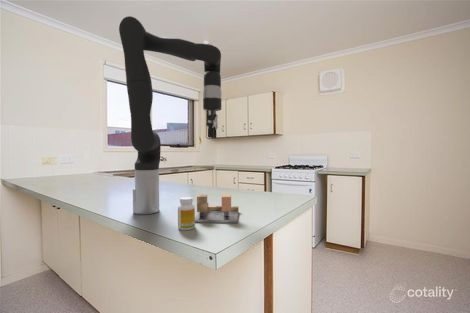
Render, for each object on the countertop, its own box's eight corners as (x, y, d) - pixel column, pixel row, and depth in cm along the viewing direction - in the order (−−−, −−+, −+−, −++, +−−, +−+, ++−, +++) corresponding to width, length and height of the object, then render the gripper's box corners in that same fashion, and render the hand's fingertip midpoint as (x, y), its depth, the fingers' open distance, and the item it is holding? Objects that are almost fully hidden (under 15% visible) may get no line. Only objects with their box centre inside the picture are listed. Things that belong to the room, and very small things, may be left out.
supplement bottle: (198, 227, 77) (198, 197, 76) (184, 231, 73) (184, 200, 72) (188, 223, 80) (188, 195, 80) (174, 227, 76) (174, 198, 76)
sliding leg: (221, 216, 84) (221, 196, 84) (222, 213, 87) (222, 194, 87) (230, 216, 84) (230, 197, 84) (231, 213, 87) (231, 195, 87)
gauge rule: (195, 219, 85) (195, 196, 84) (201, 211, 96) (201, 190, 95) (237, 220, 84) (237, 197, 83) (238, 212, 95) (238, 191, 94)
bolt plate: (194, 222, 82) (194, 219, 82) (200, 213, 93) (200, 210, 93) (237, 223, 81) (237, 220, 81) (238, 214, 92) (238, 211, 92)
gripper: (206, 101, 104) (206, 138, 104) (199, 94, 89) (199, 137, 90) (223, 101, 103) (223, 138, 104) (219, 94, 89) (219, 137, 90)
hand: (212, 137), depth 97 cm, fingers open, 8 cm apart
